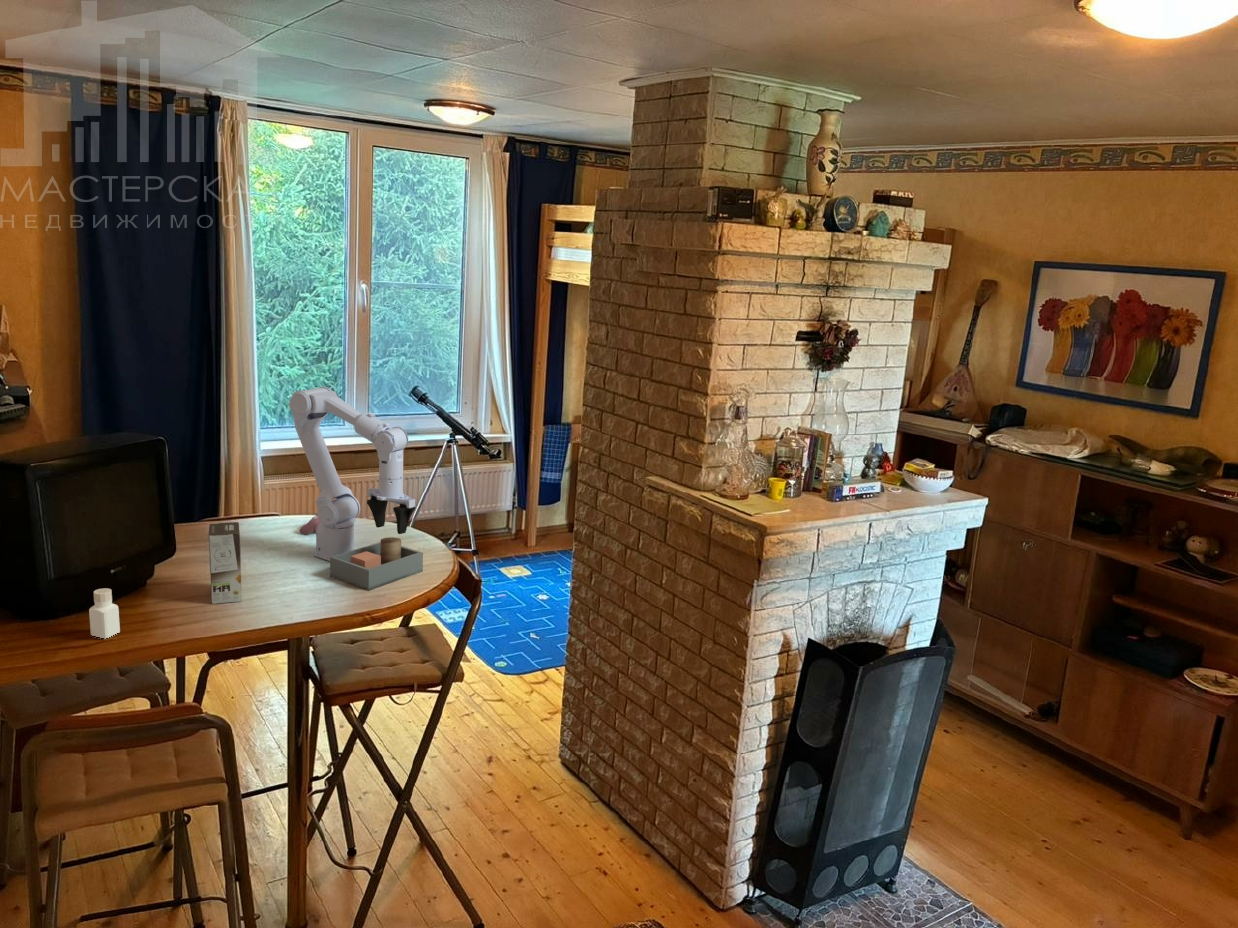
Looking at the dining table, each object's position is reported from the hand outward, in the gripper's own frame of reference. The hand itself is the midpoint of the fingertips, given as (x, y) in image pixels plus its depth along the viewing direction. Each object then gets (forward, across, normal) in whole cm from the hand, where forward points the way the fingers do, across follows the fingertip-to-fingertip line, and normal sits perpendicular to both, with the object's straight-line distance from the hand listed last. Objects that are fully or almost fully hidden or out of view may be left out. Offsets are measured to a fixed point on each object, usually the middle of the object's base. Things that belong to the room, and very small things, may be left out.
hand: (390, 529), depth 232 cm
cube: (+10, 0, -8) cm, 13 cm away
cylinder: (+10, 0, 0) cm, 10 cm away
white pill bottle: (+11, -13, -64) cm, 67 cm away
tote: (+10, 0, -4) cm, 11 cm away
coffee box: (+11, -14, -36) cm, 41 cm away
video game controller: (+11, -37, +8) cm, 40 cm away
